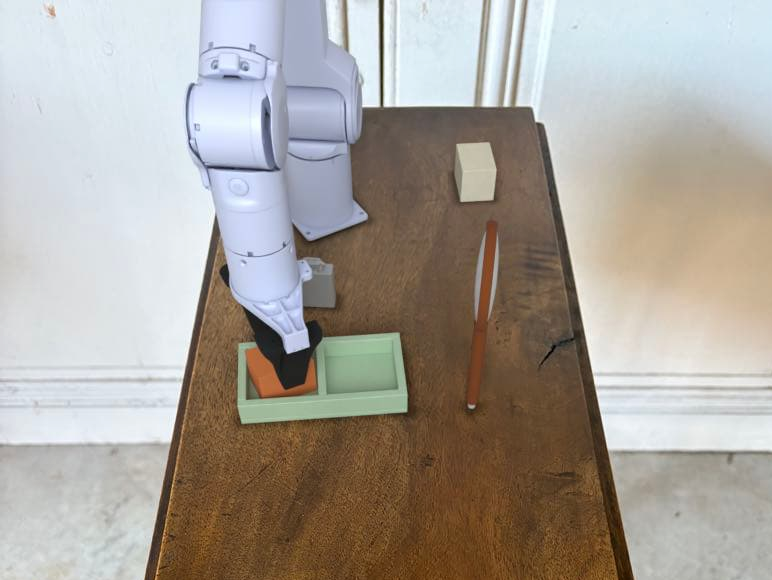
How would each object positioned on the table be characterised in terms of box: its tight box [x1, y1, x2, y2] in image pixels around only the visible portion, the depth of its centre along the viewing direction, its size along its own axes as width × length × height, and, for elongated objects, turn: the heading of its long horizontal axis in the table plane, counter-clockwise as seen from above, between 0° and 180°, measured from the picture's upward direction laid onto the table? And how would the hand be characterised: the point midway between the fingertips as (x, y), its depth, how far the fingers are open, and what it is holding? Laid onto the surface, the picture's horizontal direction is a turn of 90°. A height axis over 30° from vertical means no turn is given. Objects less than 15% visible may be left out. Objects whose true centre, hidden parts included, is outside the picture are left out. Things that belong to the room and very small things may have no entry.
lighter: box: [302, 256, 337, 309], centre depth 82 cm, size 7×2×8 cm, turn 87°
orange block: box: [245, 347, 317, 399], centre depth 77 cm, size 6×4×4 cm
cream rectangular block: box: [454, 141, 497, 203], centre depth 95 cm, size 6×4×4 cm
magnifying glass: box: [465, 219, 500, 410], centre depth 69 cm, size 9×2×20 cm, turn 173°
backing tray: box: [236, 332, 409, 425], centre depth 78 cm, size 8×16×2 cm, turn 96°
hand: (279, 357), depth 75 cm, fingers open, 7 cm apart
